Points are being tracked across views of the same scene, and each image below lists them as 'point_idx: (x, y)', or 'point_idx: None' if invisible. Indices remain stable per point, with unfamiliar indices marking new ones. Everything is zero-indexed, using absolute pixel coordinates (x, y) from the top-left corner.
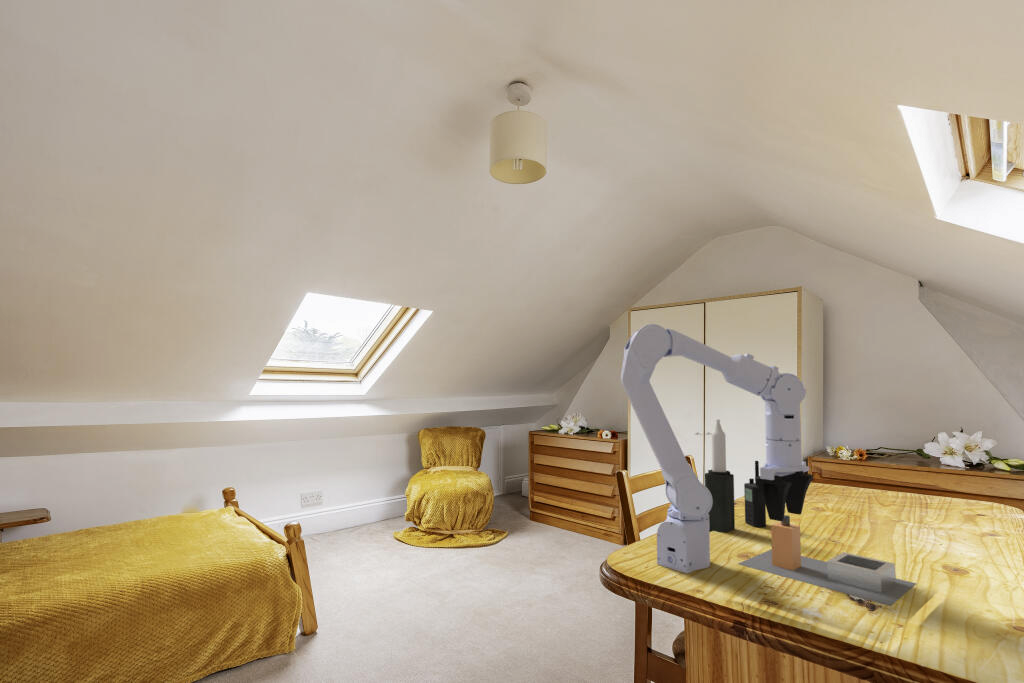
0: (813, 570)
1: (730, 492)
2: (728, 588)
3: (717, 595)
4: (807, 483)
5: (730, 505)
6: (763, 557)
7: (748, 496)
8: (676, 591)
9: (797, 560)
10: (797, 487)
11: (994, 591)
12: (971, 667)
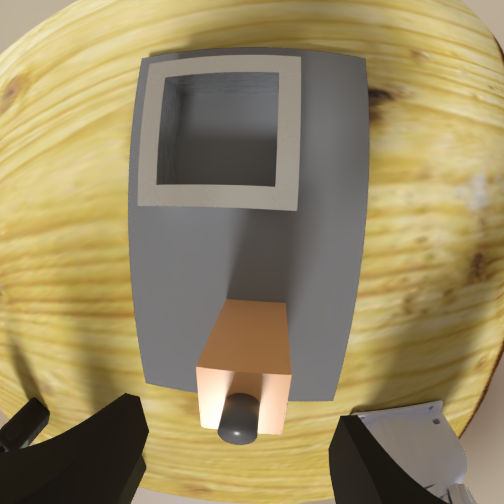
0: (237, 263)
1: None
2: (454, 346)
3: (486, 338)
4: (24, 483)
5: None
6: None
7: (24, 447)
8: (490, 377)
9: (250, 309)
10: (77, 497)
11: (80, 12)
12: (460, 7)
